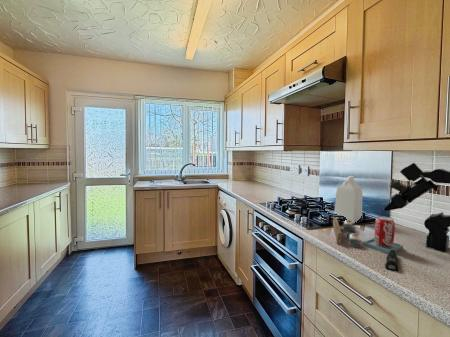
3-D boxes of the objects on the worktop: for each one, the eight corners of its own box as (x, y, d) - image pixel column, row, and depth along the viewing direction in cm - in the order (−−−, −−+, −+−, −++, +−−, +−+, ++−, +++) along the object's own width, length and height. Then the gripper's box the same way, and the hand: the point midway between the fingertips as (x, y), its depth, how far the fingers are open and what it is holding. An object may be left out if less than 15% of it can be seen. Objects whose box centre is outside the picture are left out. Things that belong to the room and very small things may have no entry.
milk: (353, 223, 140) (356, 178, 138) (333, 218, 149) (336, 176, 147) (362, 220, 148) (365, 176, 146) (342, 215, 157) (345, 175, 154)
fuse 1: (352, 228, 131) (353, 220, 130) (350, 230, 128) (350, 221, 128) (345, 226, 133) (346, 218, 133) (342, 228, 131) (343, 220, 130)
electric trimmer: (398, 258, 97) (398, 250, 97) (397, 273, 85) (398, 264, 84) (386, 255, 99) (387, 247, 99) (384, 269, 87) (385, 261, 87)
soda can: (396, 246, 105) (398, 219, 104) (387, 249, 102) (389, 221, 101) (379, 241, 111) (381, 215, 110) (370, 243, 108) (372, 216, 107)
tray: (402, 249, 105) (403, 245, 105) (390, 254, 99) (390, 250, 99) (375, 240, 114) (375, 237, 114) (362, 245, 108) (363, 241, 108)
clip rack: (352, 227, 133) (352, 218, 132) (361, 247, 105) (362, 236, 105) (332, 225, 136) (333, 216, 136) (337, 244, 109) (337, 233, 108)
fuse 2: (359, 244, 109) (360, 234, 108) (355, 246, 107) (356, 236, 106) (351, 242, 112) (352, 232, 111) (347, 243, 110) (348, 233, 109)
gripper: (407, 174, 121) (380, 193, 130) (398, 176, 108) (368, 197, 117) (426, 192, 116) (396, 210, 125) (419, 197, 103) (386, 217, 112)
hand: (387, 208), depth 120 cm, fingers open, 9 cm apart
